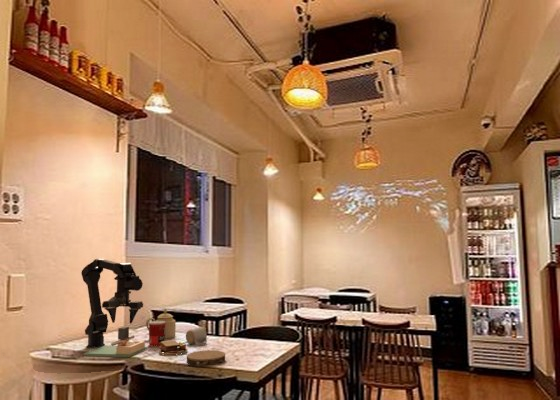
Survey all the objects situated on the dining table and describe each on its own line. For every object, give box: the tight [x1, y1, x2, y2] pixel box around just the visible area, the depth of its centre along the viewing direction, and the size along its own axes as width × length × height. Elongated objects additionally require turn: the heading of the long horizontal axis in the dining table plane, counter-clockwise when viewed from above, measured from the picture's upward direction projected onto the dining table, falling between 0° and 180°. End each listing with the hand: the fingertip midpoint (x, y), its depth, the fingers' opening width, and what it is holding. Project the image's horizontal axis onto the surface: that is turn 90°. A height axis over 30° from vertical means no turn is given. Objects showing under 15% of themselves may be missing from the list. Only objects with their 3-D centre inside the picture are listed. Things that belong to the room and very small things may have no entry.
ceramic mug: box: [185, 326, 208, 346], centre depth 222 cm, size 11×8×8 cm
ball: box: [125, 340, 135, 346], centre depth 206 cm, size 4×4×4 cm
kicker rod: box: [110, 326, 136, 346], centre depth 207 cm, size 3×17×10 cm, turn 167°
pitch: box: [83, 340, 148, 358], centre depth 207 cm, size 22×16×4 cm
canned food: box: [148, 320, 166, 347], centre depth 223 cm, size 8×8×11 cm
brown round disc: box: [186, 349, 226, 367], centre depth 188 cm, size 16×16×3 cm
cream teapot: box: [145, 308, 177, 340], centre depth 241 cm, size 15×11×15 cm
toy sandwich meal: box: [158, 339, 188, 356], centre depth 205 cm, size 12×14×5 cm
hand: (122, 323), depth 212 cm, fingers open, 9 cm apart
